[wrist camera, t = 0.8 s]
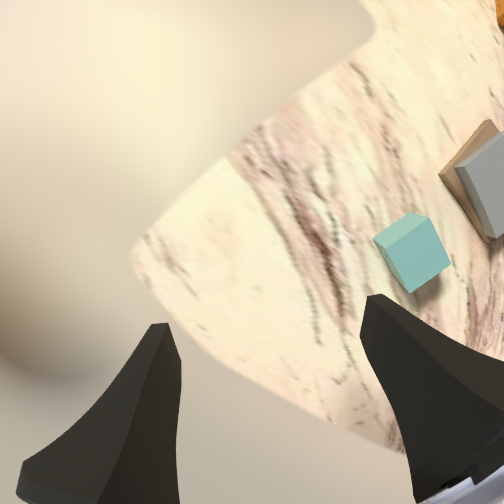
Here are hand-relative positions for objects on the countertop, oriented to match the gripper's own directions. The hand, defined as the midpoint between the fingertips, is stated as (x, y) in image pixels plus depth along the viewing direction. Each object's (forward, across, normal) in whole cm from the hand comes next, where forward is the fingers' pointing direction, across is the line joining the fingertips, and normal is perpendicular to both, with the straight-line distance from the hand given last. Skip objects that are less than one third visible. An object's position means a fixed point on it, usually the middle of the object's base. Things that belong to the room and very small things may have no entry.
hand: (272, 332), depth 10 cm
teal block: (+14, -15, +5) cm, 21 cm away
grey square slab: (+11, -24, -2) cm, 27 cm away
